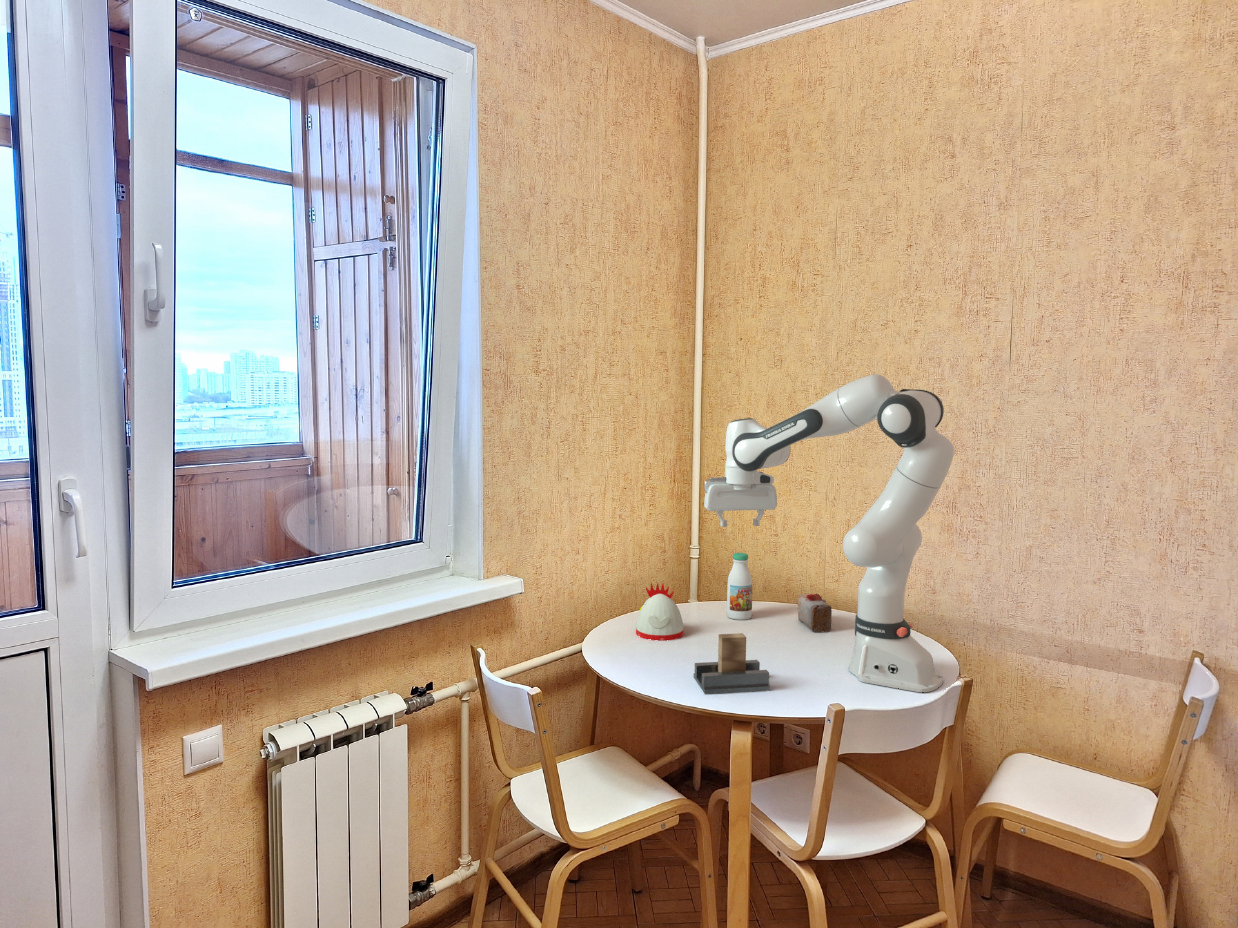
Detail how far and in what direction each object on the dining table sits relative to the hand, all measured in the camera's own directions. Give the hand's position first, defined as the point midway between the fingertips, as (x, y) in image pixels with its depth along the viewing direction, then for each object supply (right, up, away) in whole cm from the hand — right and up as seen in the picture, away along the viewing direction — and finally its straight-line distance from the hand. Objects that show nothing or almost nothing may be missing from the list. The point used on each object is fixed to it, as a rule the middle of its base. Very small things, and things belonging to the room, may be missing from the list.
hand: (740, 526), depth 224 cm
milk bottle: (+4, -31, +27) cm, 41 cm away
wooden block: (-6, -35, -29) cm, 46 cm away
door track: (-6, -36, -29) cm, 47 cm away
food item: (+25, -32, +18) cm, 44 cm away
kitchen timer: (-22, -32, +10) cm, 40 cm away
